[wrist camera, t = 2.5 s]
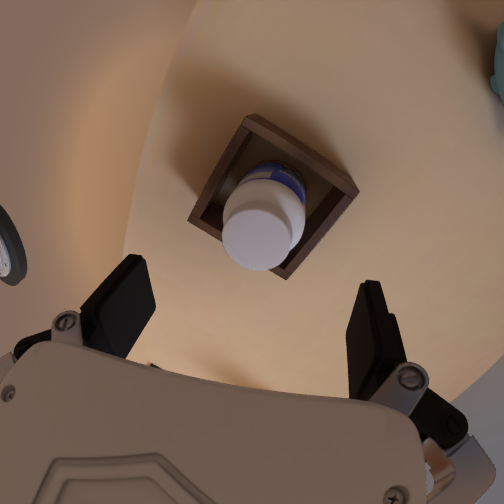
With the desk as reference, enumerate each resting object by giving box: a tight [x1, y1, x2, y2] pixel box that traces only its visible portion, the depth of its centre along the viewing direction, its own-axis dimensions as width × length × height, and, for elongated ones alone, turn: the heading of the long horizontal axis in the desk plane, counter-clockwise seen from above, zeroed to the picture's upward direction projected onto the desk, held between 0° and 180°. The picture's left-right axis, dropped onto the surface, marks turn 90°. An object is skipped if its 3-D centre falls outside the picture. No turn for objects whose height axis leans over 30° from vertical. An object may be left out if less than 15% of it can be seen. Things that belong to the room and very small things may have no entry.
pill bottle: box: [222, 161, 306, 271], centre depth 20 cm, size 5×5×10 cm
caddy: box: [187, 114, 360, 280], centre depth 23 cm, size 10×10×4 cm
